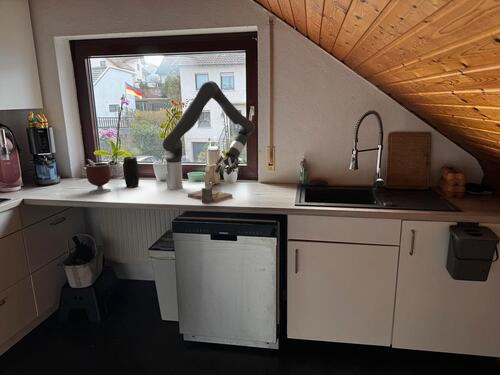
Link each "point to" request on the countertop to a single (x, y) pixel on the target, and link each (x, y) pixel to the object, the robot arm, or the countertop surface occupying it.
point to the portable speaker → (131, 171)
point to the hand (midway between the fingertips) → (221, 173)
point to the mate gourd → (98, 176)
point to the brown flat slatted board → (215, 198)
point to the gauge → (208, 195)
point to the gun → (211, 176)
